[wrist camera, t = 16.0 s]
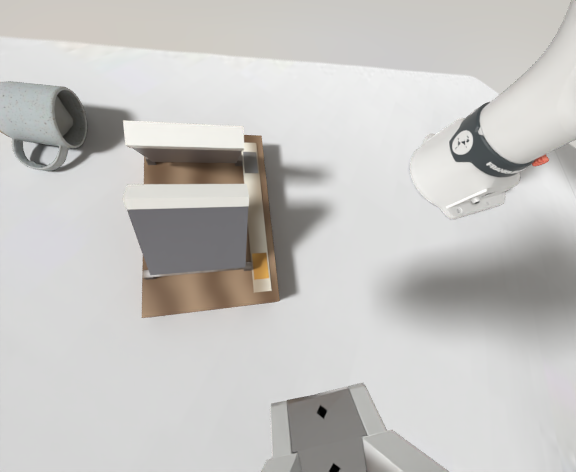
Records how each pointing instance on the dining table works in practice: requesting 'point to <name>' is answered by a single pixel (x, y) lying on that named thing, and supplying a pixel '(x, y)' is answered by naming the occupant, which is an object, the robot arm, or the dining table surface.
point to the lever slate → (185, 141)
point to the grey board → (189, 225)
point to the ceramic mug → (41, 119)
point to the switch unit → (224, 282)
